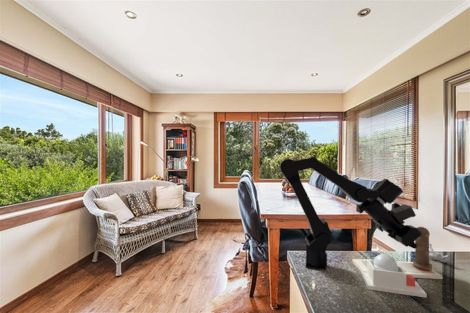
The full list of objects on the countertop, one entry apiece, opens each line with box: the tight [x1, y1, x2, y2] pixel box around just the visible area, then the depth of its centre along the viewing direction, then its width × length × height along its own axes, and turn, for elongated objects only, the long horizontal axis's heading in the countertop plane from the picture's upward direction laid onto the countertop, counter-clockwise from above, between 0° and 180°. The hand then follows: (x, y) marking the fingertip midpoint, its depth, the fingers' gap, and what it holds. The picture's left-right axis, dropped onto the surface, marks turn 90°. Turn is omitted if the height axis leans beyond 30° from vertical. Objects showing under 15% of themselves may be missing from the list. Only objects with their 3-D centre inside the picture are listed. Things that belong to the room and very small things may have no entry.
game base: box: [361, 258, 428, 298], centre depth 71 cm, size 14×9×6 cm, turn 72°
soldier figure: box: [429, 242, 451, 264], centre depth 89 cm, size 8×5×12 cm
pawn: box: [412, 226, 433, 270], centre depth 80 cm, size 5×5×13 cm
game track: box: [352, 258, 444, 280], centre depth 81 cm, size 23×10×1 cm, turn 82°
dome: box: [373, 253, 397, 272], centre depth 71 cm, size 6×6×6 cm
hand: (415, 247), depth 80 cm, fingers closed
